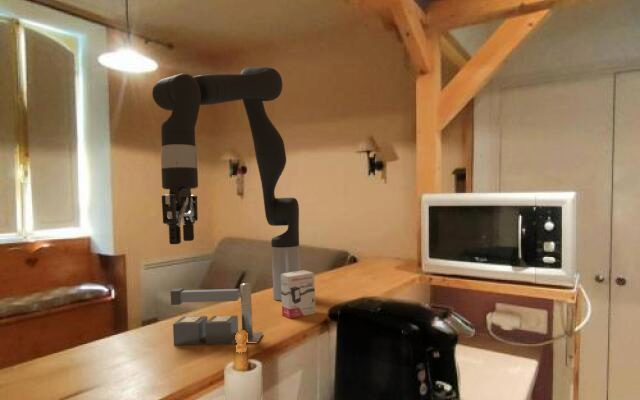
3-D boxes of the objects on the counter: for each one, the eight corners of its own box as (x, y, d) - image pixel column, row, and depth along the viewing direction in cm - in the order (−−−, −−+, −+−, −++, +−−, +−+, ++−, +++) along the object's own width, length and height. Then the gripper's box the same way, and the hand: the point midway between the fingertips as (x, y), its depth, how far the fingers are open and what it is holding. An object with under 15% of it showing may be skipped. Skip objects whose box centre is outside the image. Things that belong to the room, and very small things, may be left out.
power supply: (214, 336, 99) (213, 315, 99) (238, 335, 99) (237, 314, 99) (205, 345, 93) (204, 322, 93) (231, 344, 93) (230, 322, 93)
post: (238, 335, 99) (236, 281, 99) (262, 334, 98) (260, 281, 98) (231, 344, 93) (229, 287, 93) (257, 343, 92) (255, 286, 92)
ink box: (290, 319, 111) (288, 275, 111) (281, 315, 115) (279, 273, 115) (316, 313, 115) (314, 271, 115) (307, 309, 119) (305, 269, 120)
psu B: (184, 337, 100) (183, 315, 100) (208, 336, 99) (207, 315, 99) (173, 345, 94) (173, 323, 94) (199, 345, 93) (198, 322, 93)
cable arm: (239, 300, 97) (238, 286, 97) (236, 303, 94) (235, 289, 94) (175, 301, 98) (175, 288, 98) (171, 304, 95) (170, 291, 95)
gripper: (183, 163, 82) (186, 245, 82) (207, 169, 96) (209, 238, 96) (147, 165, 82) (150, 246, 82) (176, 170, 97) (178, 239, 97)
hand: (182, 242), depth 89 cm, fingers open, 7 cm apart
